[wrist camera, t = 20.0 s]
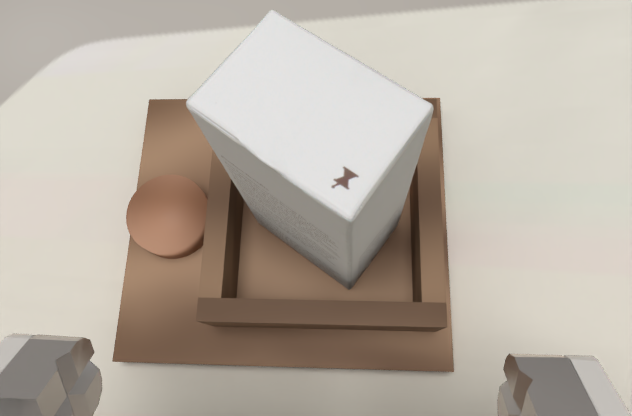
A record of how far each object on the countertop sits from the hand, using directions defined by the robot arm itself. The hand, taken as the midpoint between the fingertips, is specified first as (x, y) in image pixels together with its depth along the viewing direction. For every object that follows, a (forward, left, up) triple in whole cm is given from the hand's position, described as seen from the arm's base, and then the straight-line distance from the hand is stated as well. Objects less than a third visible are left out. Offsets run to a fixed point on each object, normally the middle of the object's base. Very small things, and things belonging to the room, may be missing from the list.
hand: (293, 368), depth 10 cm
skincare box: (+7, 0, -14) cm, 16 cm away
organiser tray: (+7, +2, -15) cm, 17 cm away
